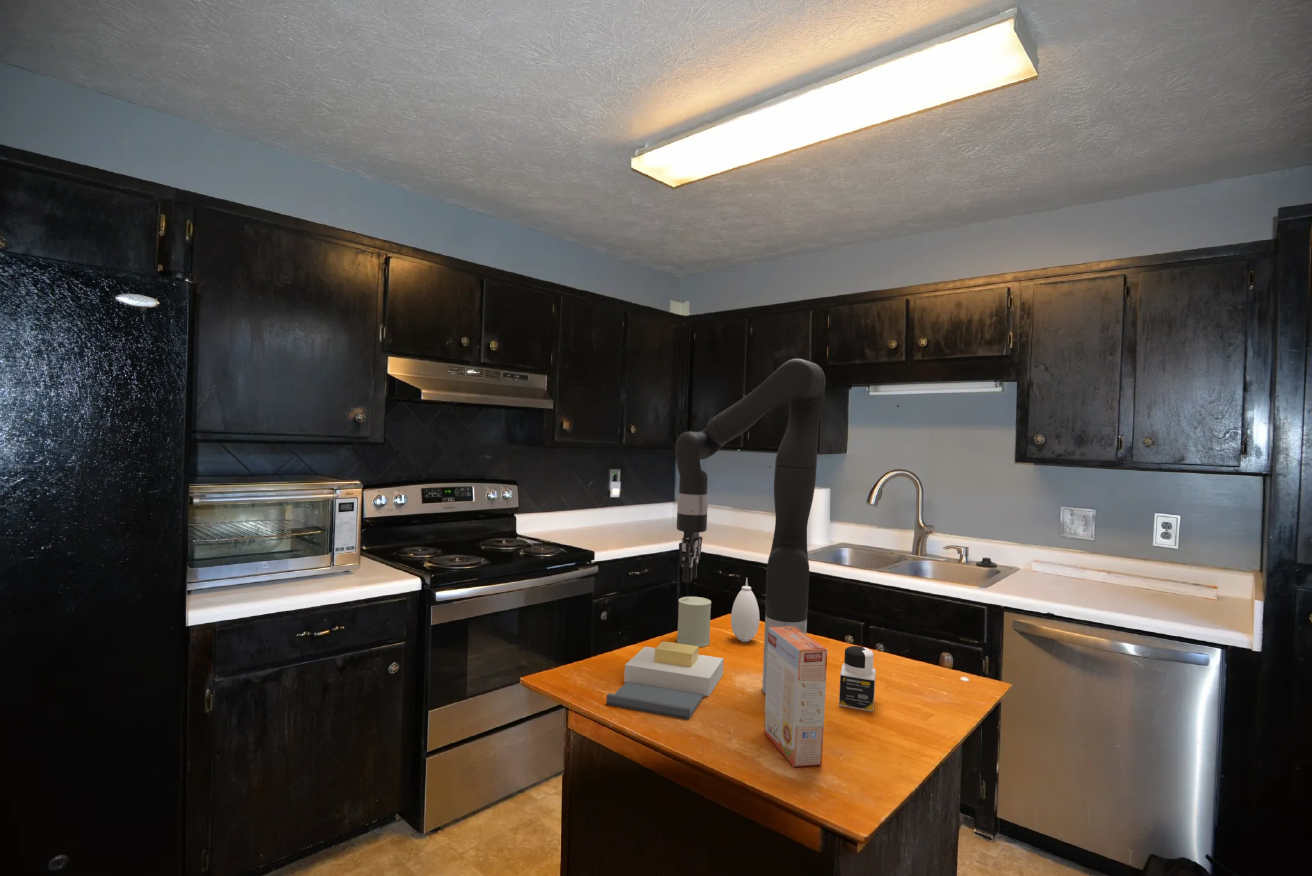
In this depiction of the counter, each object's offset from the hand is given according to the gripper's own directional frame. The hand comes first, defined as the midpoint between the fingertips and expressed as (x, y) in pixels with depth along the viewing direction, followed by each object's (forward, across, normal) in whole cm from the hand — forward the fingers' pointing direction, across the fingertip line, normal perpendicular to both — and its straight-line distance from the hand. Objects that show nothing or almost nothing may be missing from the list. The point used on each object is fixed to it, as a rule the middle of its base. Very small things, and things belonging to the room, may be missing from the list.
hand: (689, 579), depth 162 cm
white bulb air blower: (+21, +25, -10) cm, 34 cm away
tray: (+21, -24, 0) cm, 32 cm away
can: (+21, +18, +3) cm, 28 cm away
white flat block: (+21, -10, 0) cm, 24 cm away
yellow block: (+16, -9, 0) cm, 18 cm away
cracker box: (+21, -34, -30) cm, 50 cm away
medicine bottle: (+21, -7, -41) cm, 47 cm away
